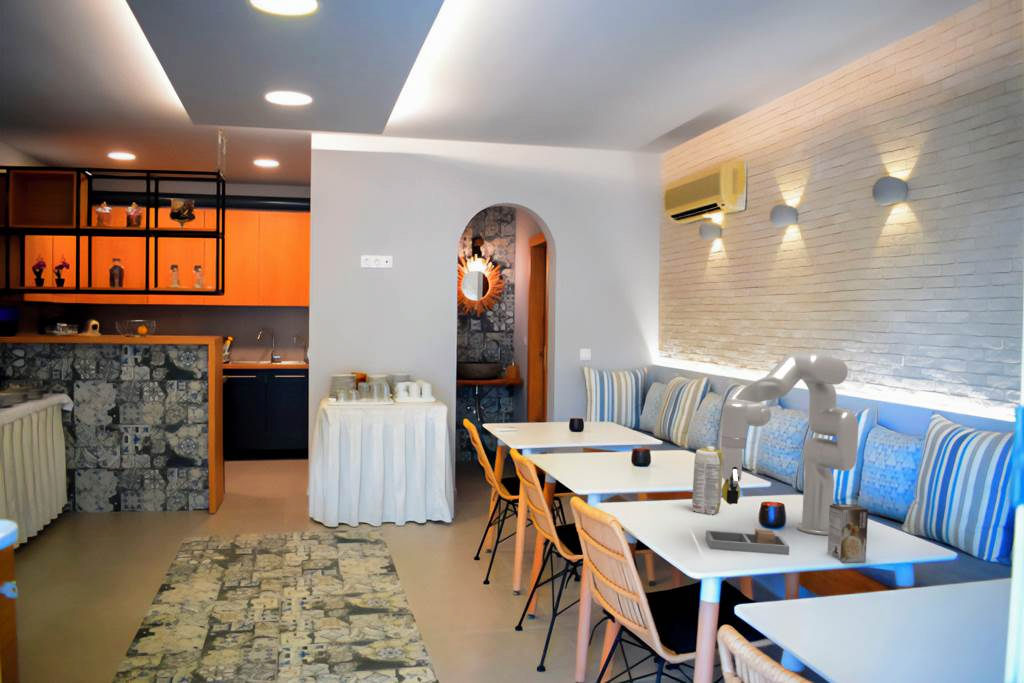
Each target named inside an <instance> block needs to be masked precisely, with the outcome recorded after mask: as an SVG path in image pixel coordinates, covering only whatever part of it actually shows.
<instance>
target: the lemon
mask: <svg viewBox="0 0 1024 683" xmlns="http://www.w3.org/2000/svg"><path fill="white" fill-rule="evenodd" d="M730 480H733V479H730ZM731 483H733V482H731ZM727 490H728V481H726V482H725V481H724V483H722V489H721V498H723V500H724V501H725V502H726V503H727ZM740 496H741V487H740V484H739V483H738V500H739V499H740ZM728 504H729V505H730V506H731V505H732V504H730V503H728Z"/></svg>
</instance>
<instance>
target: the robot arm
mask: <svg viewBox="0 0 1024 683" xmlns="http://www.w3.org/2000/svg"><path fill="white" fill-rule="evenodd" d="M848 370H849V369H848V366H847V364H846V363H845V361H843V360H842V359H841V358H836V357H831V356H827V355H823V354H819V353H818V354H817V353H813V352H811V353H810V352H790V353H787V354H785V355H784V357H783V358H782V359H781V360H780V361H779V362H778V363H777V364H776V365H775V366H774V367H773V368H772V370H771V371H770V372H769V373H767V375H766V376H764V377H762V378H760V379H757V380H755V381H753V382H750V383H748V384H747V385H744V386H743V387H741V388H740V389H738V390H737V391H736V392H735V393H734V395H733V396H731V398H730V399H729V400H728V401H727V402H725V403H724V404H723V405H722V415H721V418H722V419H721V420H722V421H721V436H720V438H721V439H720V447H721V448H722V463H721V476H722V480H724V483H725V482H726V481H728V490H727V502H726V503H727V504H729V503H730V504H731V505H732V504H733V505H737V504H738V503H739V499H738V484H739V482H740V481H741V480H742V472H743V471H742V469H743V450H745V449H747V438H748V426H753V427H762V426H765V425H767V424H768V423H769V421H770V420H771V418H772V417H771V416H772V412H771V409H770V407H769V406H768V405H766V404H765V403H764V402H765V401H771V400H776V399H777V400H778V399H781V398H784V397H786V396H787V395H788V394H789V393H790V391H792V389H793V388H794V387H795V386H796V385H797V384H798V382H799V381H803V382H804V384H805V385H806V387H807V389H808V393H809V405H808V406H809V410H808V424H809V426H808V427H809V429H810V431H811V432H812V433H815V434H818V435H822V436H827V437H835V438H836V440H834V439H830V438H823V437H811V438H809V439H807V440H806V441H805V442H804V444H803V448H802V458H803V463H804V464H803V465H804V482H803V494H802V495H803V497H802V500H803V501H802V512H801V515H802V516H801V522H798V523H797V524H796V529H797V530H799V531H801V532H804V533H808V534H813V535H814V534H815V535H822V536H828V532H829V512H830V505H834V503H833V502H834V490H835V479H834V474H833V473H832V470H836V471H841V472H843V471H844V472H848V471H851V470H852V469H854V467H855V466H856V464H857V459H858V443H859V421H858V418H857V416H856V414H855V413H854V412H852V411H851V410H849V409H844V408H838V407H837V391H836V388H835V386H834V385H841V384H842V383H843V382H845V380H846V379H847V377H848ZM831 469H832V470H831ZM730 479H733V480H730ZM731 482H733V483H731ZM730 504H729V505H730Z"/></svg>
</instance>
